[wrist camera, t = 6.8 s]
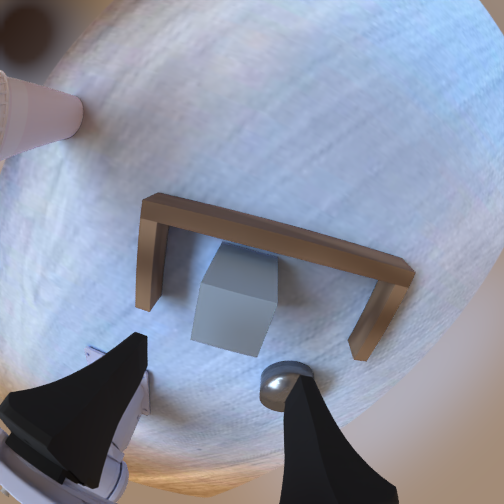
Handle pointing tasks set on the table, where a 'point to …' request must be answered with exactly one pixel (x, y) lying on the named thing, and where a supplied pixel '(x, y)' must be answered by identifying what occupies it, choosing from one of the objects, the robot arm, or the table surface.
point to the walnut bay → (278, 241)
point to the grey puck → (280, 382)
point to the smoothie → (34, 116)
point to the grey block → (236, 300)
